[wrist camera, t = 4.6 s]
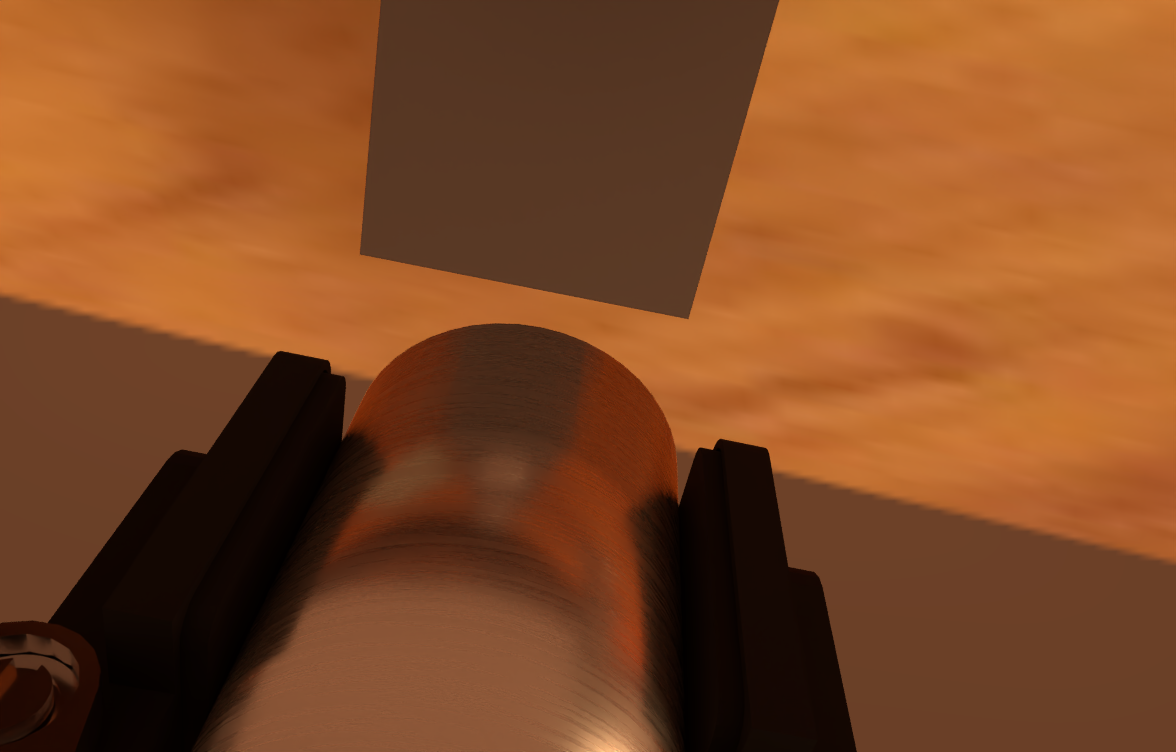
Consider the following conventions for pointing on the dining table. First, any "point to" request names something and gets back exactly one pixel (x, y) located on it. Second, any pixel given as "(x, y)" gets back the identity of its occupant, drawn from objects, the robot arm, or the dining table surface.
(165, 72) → the dining table surface
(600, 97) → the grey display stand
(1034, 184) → the dining table surface
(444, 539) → the cylinder
